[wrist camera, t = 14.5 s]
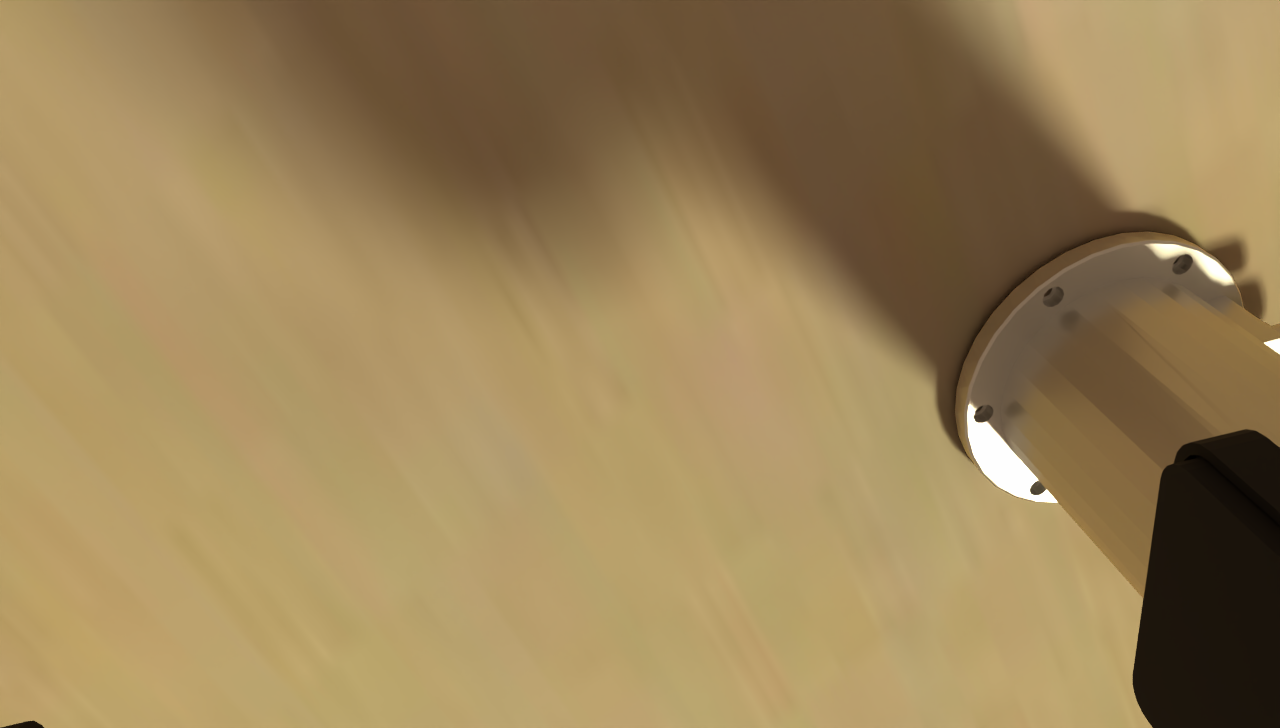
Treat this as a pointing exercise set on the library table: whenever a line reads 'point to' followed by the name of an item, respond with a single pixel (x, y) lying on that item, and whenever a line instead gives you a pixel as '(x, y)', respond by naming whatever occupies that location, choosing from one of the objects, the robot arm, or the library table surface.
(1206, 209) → the library table surface
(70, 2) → the library table surface
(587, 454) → the library table surface
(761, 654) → the library table surface
